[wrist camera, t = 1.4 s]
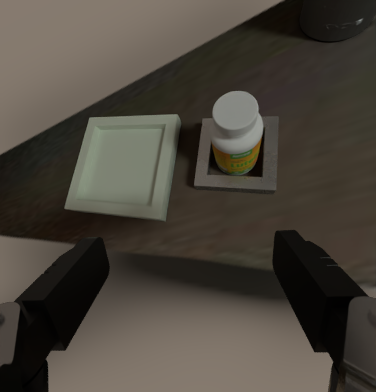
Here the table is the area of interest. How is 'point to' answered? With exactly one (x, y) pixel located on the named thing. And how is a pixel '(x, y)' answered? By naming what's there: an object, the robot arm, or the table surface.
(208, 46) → the table surface
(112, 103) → the table surface
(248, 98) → the supplement bottle
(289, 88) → the table surface
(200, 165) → the gray square frame
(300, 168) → the table surface
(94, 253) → the robot arm
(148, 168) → the sage tray
